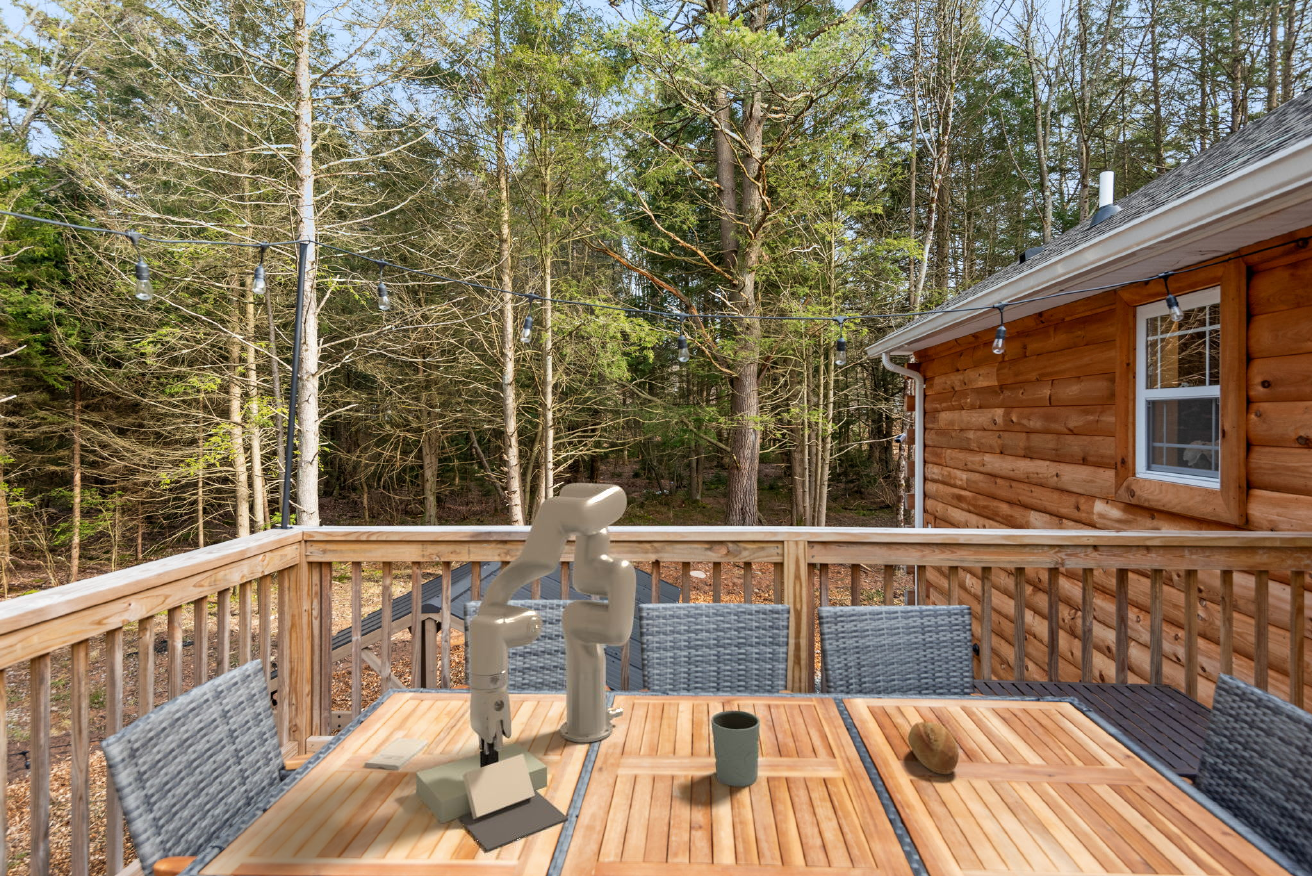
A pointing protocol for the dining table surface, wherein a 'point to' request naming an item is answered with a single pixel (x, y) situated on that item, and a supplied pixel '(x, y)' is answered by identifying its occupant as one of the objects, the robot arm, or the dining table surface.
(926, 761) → the bread roll
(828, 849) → the dining table surface
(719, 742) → the grey green cup
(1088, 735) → the dining table surface
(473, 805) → the cream flat block
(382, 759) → the external hard drive
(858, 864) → the dining table surface
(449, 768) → the sage green block
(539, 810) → the mat
